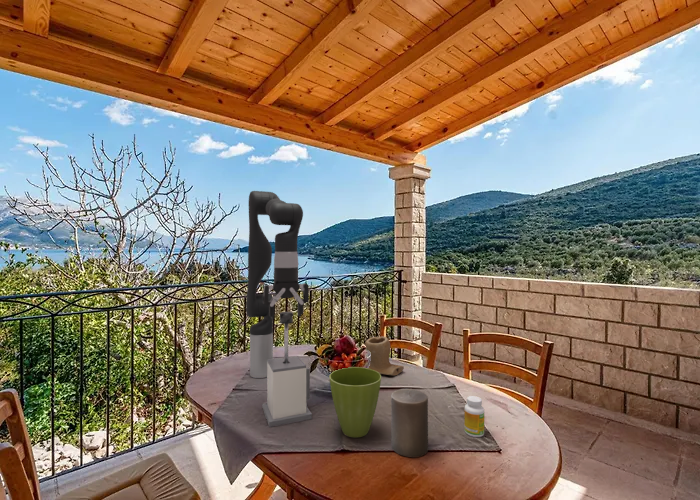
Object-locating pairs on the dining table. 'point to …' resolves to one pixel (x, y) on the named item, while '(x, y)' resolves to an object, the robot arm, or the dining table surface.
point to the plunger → (286, 331)
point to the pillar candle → (409, 422)
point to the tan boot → (381, 356)
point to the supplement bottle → (474, 417)
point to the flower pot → (355, 398)
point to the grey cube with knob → (287, 391)
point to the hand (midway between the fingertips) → (286, 317)
